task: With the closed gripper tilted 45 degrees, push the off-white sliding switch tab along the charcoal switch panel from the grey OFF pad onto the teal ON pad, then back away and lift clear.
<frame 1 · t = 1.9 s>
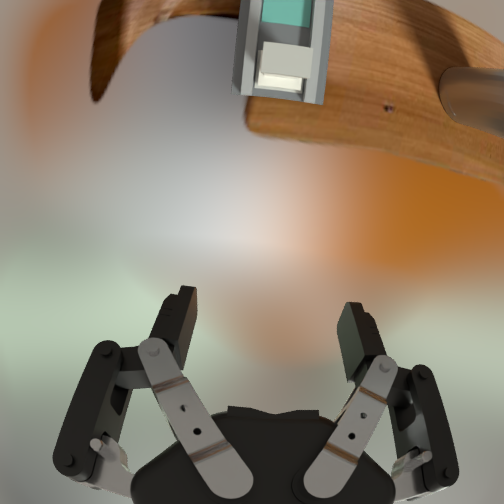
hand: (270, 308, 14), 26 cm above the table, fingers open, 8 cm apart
switch panel: (282, 41, 27), on the table
switch tab: (283, 66, 22), point 8 cm above the table, slide at 0.0 cm
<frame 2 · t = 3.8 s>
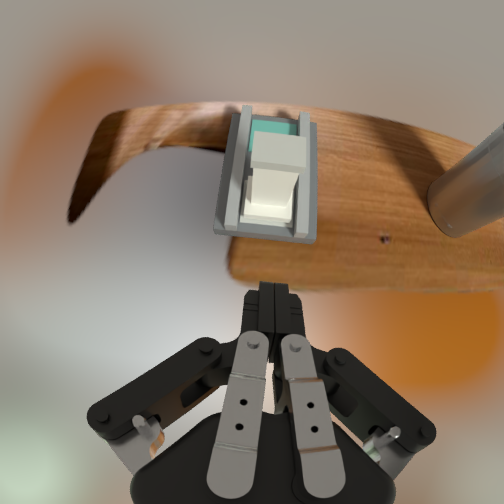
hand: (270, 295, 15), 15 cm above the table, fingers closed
switch panel: (269, 176, 33), on the table
switch tab: (273, 179, 25), point 8 cm above the table, slide at 0.0 cm
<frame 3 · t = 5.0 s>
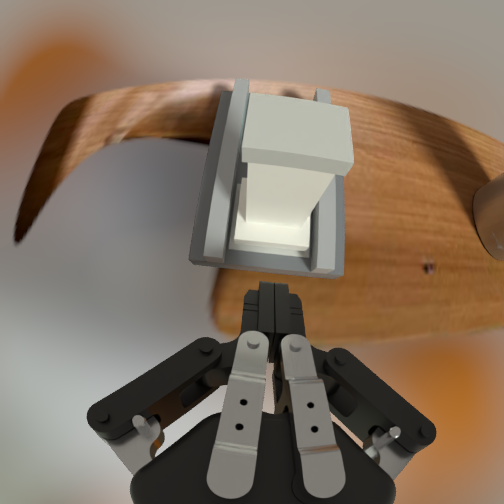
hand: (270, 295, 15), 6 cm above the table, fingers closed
switch panel: (273, 177, 23), on the table
switch tab: (282, 183, 14), point 8 cm above the table, slide at 0.0 cm
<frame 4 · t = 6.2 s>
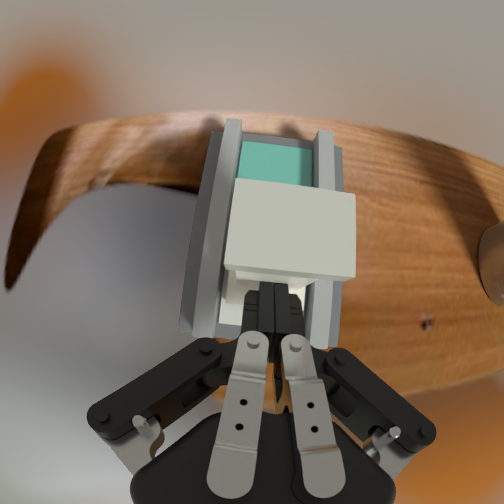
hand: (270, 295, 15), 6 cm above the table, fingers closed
switch panel: (267, 235, 22), on the table
switch tab: (275, 259, 13), point 8 cm above the table, slide at 1.0 cm, touching gripper
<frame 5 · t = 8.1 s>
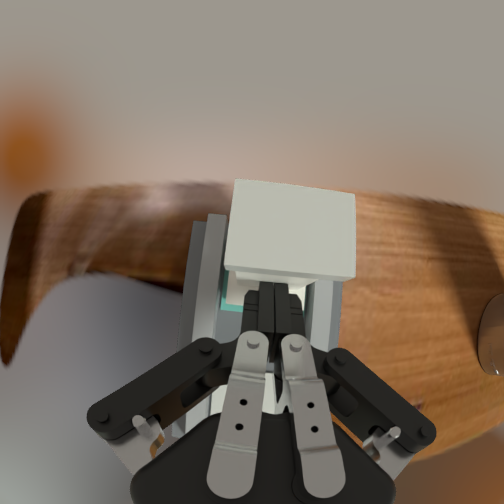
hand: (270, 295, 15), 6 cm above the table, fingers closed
switch panel: (257, 340, 20), on the table
switch tab: (275, 259, 13), point 8 cm above the table, slide at 9.1 cm, touching gripper
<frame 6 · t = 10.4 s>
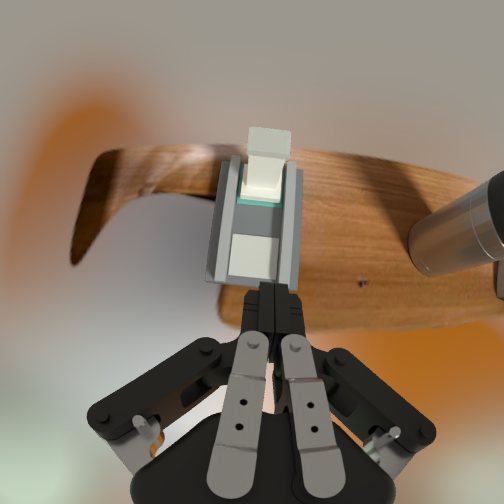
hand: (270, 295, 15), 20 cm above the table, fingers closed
switch panel: (256, 225, 36), on the table
switch tab: (264, 165, 30), point 8 cm above the table, slide at 9.1 cm
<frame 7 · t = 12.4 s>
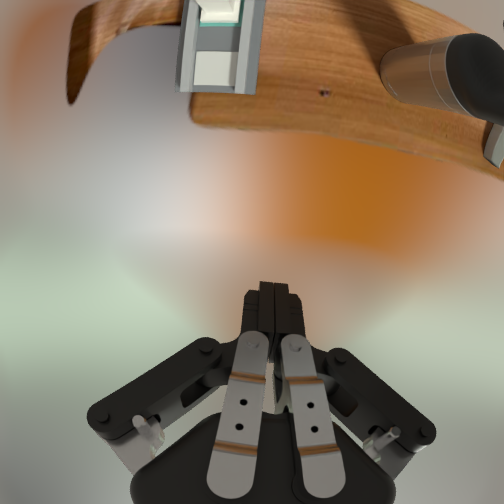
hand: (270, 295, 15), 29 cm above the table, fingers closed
switch panel: (221, 41, 30), on the table
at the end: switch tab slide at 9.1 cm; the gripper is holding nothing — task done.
